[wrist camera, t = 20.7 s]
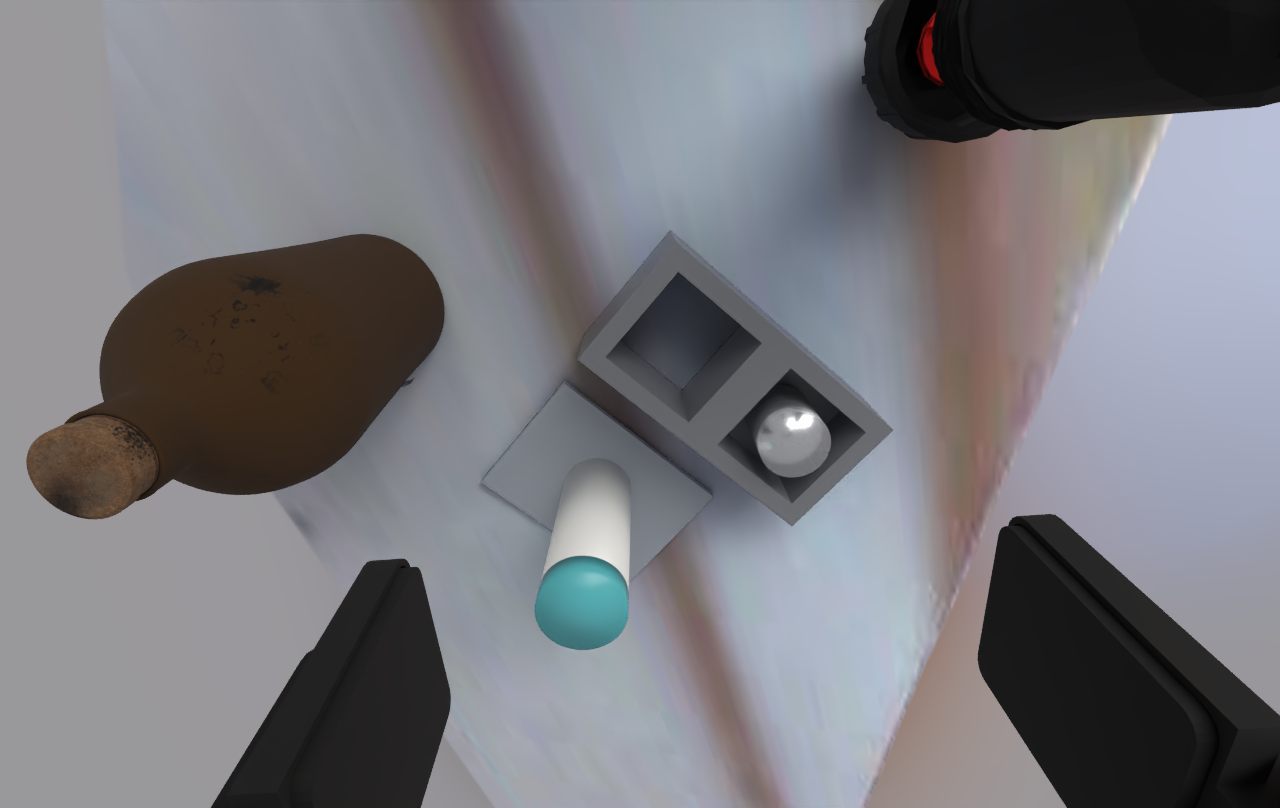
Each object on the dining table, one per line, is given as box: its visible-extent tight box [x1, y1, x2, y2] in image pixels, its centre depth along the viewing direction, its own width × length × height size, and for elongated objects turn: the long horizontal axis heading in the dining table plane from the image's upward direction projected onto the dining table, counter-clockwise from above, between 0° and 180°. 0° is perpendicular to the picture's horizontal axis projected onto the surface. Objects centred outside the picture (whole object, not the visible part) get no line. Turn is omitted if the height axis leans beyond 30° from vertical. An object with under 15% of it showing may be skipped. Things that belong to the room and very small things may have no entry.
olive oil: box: [27, 234, 444, 519], centre depth 32 cm, size 11×11×25 cm
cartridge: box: [535, 458, 631, 650], centre depth 41 cm, size 5×5×14 cm
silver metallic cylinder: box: [746, 385, 831, 477], centre depth 42 cm, size 4×4×5 cm
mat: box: [481, 381, 713, 582], centre depth 48 cm, size 14×10×1 cm
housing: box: [577, 230, 893, 526], centre depth 43 cm, size 18×9×6 cm, turn 50°
